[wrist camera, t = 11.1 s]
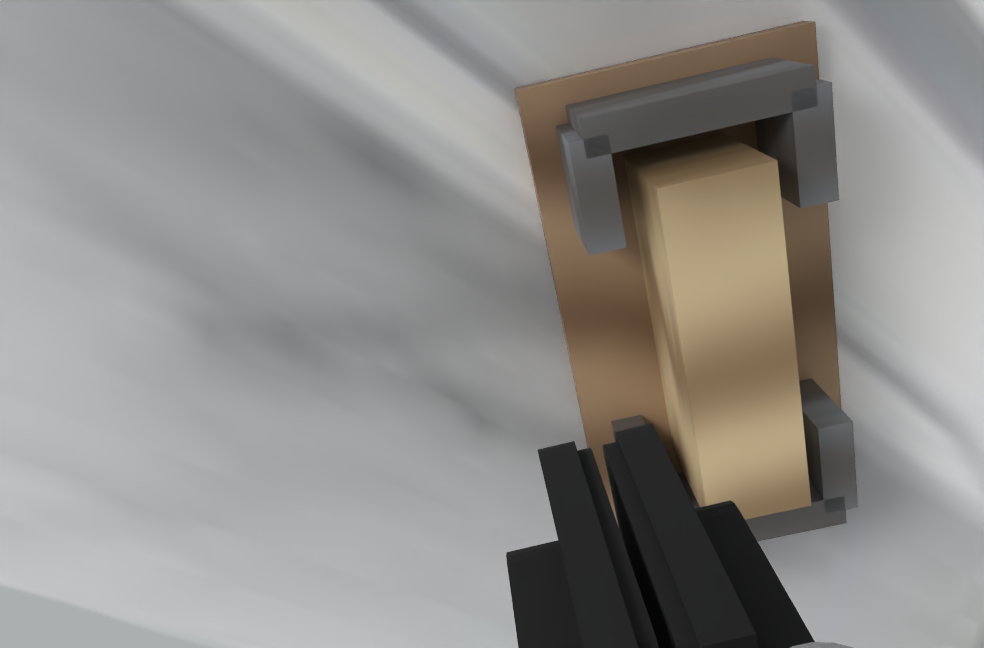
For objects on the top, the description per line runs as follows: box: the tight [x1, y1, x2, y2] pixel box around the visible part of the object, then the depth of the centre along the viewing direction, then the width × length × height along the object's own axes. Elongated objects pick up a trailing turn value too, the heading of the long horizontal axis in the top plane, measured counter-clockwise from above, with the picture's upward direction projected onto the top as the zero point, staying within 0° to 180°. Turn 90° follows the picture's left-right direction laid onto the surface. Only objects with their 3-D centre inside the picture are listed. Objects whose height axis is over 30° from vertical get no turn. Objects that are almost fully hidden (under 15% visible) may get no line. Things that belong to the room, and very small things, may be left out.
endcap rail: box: [515, 21, 858, 541], centre depth 29 cm, size 18×10×4 cm, turn 12°
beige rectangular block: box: [624, 134, 811, 520], centre depth 28 cm, size 12×4×5 cm, turn 13°
